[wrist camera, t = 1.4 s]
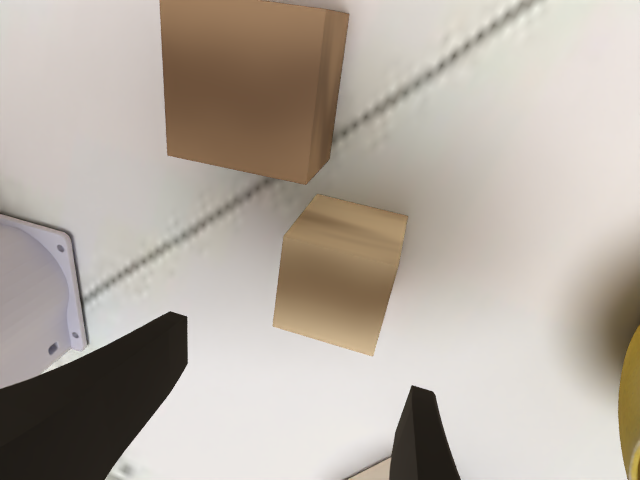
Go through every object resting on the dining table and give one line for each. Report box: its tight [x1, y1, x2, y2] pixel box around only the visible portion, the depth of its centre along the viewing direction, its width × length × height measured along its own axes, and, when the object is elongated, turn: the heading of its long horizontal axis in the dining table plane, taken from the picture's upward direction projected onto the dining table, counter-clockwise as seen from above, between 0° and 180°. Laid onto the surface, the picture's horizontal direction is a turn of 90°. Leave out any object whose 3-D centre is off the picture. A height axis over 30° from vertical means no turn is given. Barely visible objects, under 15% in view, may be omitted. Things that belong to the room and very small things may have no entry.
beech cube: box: [273, 194, 408, 356], centre depth 19 cm, size 4×4×5 cm
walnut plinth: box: [160, 0, 349, 185], centre depth 17 cm, size 6×6×4 cm
